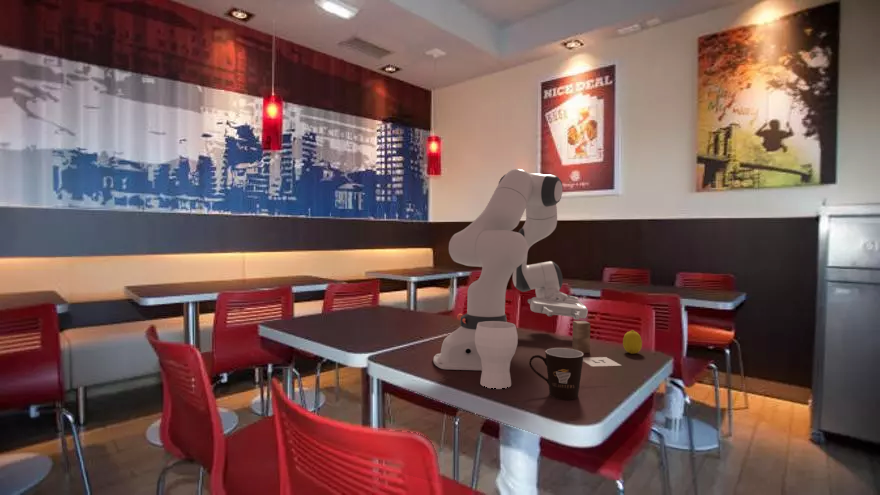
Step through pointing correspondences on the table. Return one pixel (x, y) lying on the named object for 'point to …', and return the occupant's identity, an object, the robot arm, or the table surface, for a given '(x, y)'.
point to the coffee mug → (562, 372)
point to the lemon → (632, 342)
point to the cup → (496, 352)
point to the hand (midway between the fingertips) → (563, 315)
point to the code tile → (600, 361)
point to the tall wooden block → (581, 336)
